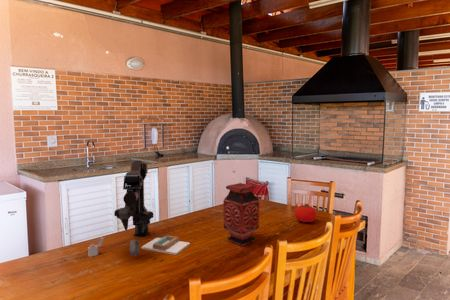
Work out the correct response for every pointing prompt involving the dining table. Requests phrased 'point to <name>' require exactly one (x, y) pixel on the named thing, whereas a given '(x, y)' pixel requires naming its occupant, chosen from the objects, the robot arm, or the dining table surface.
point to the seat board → (167, 245)
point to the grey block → (134, 247)
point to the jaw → (161, 240)
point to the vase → (241, 213)
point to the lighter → (94, 248)
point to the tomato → (305, 213)
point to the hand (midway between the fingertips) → (134, 231)
